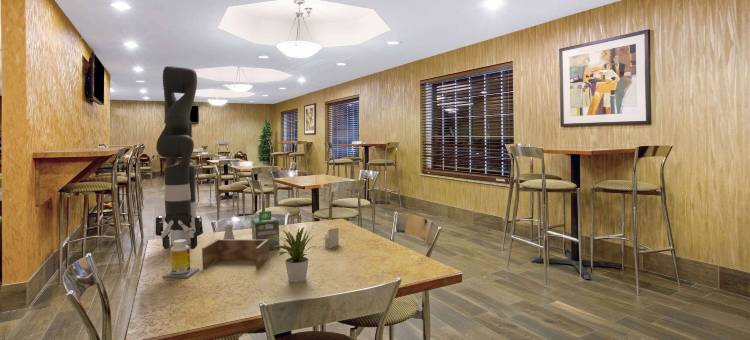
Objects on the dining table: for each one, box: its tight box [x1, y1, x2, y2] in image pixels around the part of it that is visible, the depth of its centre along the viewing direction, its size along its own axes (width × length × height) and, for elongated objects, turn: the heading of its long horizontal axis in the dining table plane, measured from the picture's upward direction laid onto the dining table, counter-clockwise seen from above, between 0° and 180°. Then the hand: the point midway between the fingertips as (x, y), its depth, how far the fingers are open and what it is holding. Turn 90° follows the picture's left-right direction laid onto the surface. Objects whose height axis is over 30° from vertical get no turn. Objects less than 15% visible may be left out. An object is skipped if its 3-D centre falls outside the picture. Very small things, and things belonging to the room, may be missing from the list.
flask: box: [222, 224, 236, 240], centre depth 166 cm, size 7×7×10 cm
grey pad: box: [162, 267, 200, 279], centre depth 139 cm, size 8×8×1 cm
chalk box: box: [250, 210, 281, 252], centre depth 169 cm, size 9×9×15 cm
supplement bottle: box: [170, 239, 191, 274], centre depth 138 cm, size 6×6×10 cm
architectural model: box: [322, 226, 341, 249], centre depth 173 cm, size 3×7×7 cm, turn 142°
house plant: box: [274, 226, 317, 283], centre depth 133 cm, size 14×14×16 cm
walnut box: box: [201, 239, 270, 270], centre depth 150 cm, size 19×12×7 cm, turn 88°
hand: (180, 248), depth 138 cm, fingers open, 8 cm apart
